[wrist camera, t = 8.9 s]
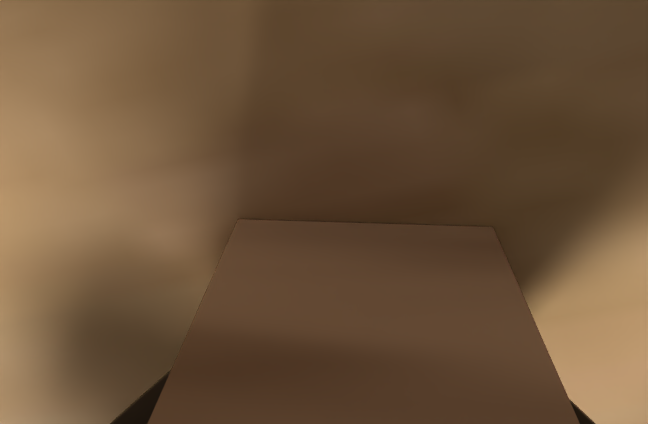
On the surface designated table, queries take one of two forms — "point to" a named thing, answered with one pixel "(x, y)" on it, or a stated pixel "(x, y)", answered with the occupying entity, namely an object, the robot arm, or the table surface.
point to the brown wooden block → (363, 332)
